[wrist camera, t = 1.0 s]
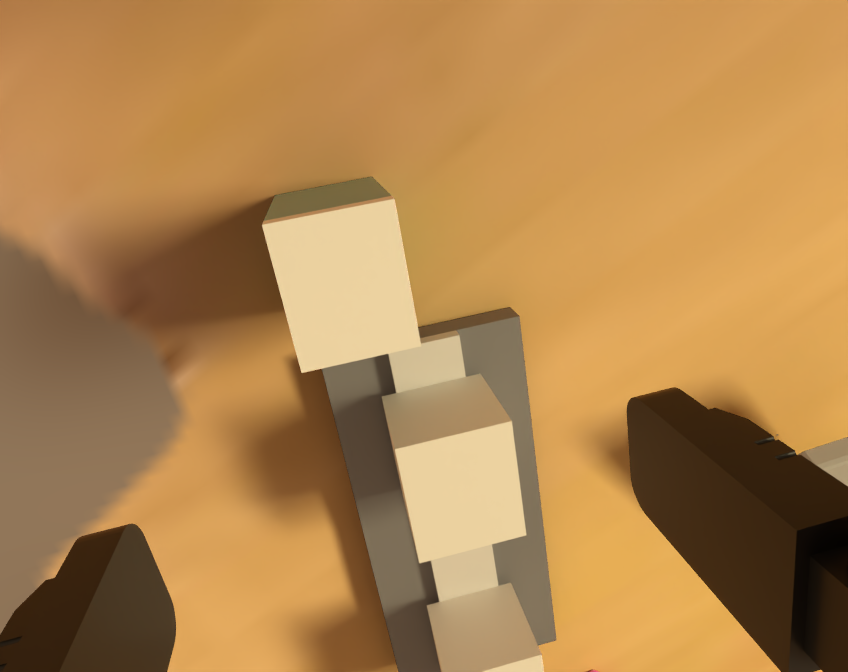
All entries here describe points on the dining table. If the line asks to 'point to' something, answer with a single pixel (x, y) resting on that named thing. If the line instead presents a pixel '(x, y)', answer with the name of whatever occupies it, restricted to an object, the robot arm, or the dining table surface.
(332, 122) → the dining table surface
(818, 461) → the light switch
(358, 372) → the rail board
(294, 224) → the block
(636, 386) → the dining table surface
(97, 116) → the dining table surface
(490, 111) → the dining table surface
